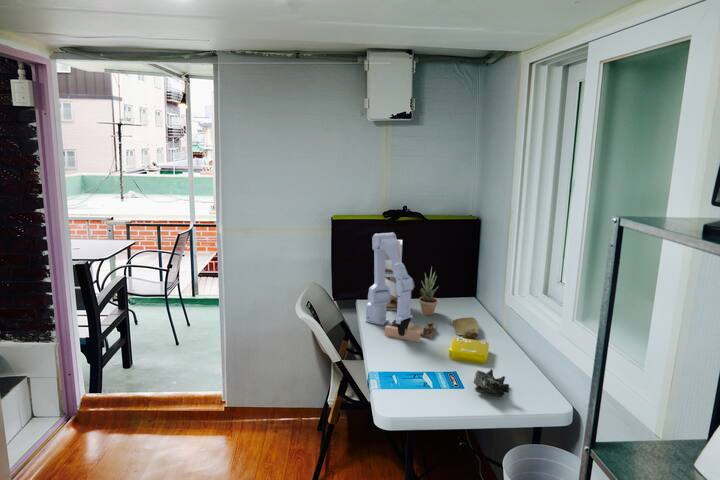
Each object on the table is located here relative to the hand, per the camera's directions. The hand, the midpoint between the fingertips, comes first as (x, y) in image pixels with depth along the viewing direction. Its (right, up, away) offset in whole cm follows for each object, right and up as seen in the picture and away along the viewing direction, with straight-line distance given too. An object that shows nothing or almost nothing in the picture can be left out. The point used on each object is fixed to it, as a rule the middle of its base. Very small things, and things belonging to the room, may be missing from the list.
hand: (402, 334), depth 220 cm
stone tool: (+30, -1, +10) cm, 32 cm away
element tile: (+26, -6, -15) cm, 31 cm away
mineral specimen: (+28, -12, -45) cm, 54 cm away
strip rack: (+5, 0, +9) cm, 10 cm away
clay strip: (0, -2, 0) cm, 2 cm away
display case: (-3, +7, +41) cm, 42 cm away
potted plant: (+16, +4, +33) cm, 37 cm away
